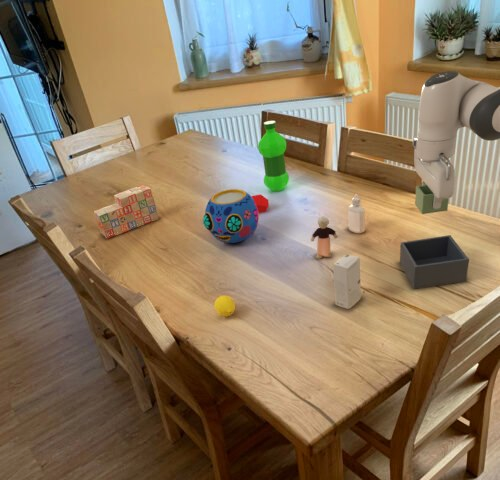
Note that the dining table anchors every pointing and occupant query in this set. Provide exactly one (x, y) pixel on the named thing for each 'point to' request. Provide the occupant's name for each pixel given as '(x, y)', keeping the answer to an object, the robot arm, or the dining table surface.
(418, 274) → the big bin
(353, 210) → the eye dropper bottle
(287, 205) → the dining table surface
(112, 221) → the stack of blocks
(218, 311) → the lemon
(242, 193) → the ceramic pot
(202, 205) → the dining table surface
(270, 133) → the plastic bottle
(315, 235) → the grandmother figurine
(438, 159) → the robot arm
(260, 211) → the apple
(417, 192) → the small bin
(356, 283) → the cosmetic box
